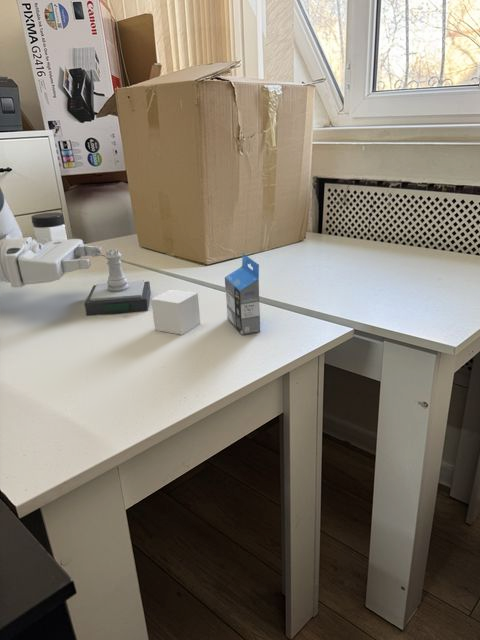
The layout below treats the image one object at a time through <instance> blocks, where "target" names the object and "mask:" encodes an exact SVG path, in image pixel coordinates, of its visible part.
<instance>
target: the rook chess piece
mask: <svg viewBox="0 0 480 640" xmlns="http://www.w3.org/2000/svg"><path fill="white" fill-rule="evenodd" d="M121 257H122V253H121V252H120V249H117V248H116V249H115V248H114V249H113V250H112V249H108V250H106V251H105V255H104V258H105V259H106V260H107V262H106V264H107V265H108V277H107V281H106V283H107V285H108V287H107V289H108V290H110V291H113V292H118V291H124V290H126V289H127V288H128V287H129V285H128V284H127V283H128V281H129V280H128V278H126V275H124V272H123V268H122V265H121V264H122V261H121Z"/></svg>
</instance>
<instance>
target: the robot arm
mask: <svg viewBox="0 0 480 640" xmlns="http://www.w3.org/2000/svg"><path fill="white" fill-rule="evenodd" d="M102 254H103V250H102V247H101V246H97V245H95V246H91V245H87V244H84V241H83V239H81V238H69V239H68V238H67V240H56V241H50V242H47V243H45V244H44V245H42V244H41V243H37V241H36V238H33V237H31V236H28V237H27V236H25V237H24V235H23V233H22V228H20V225H19V223H18V221H17V219H16V218H15V215H14V214H13V212H12V210H11V208H10V205H9V204H8V201H7V200H6V198H5V195H4V192H3V190H2V188H1V187H0V282H5V283H9V284H10V285H11V288H14V289H15V288H18V289H19V288H23V287H25V286H27V285H38V284H46V283H52V282H55V281H58V280H61V278H62V277H63V276H65V274H67V273H71V272H75V271H79V270H88V269H90V267H91V265H92V263H91V259H90V258H89V257H92V258H93V257H94V258H96V257H100V256H101V255H102ZM86 256H89V257H86Z"/></svg>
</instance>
